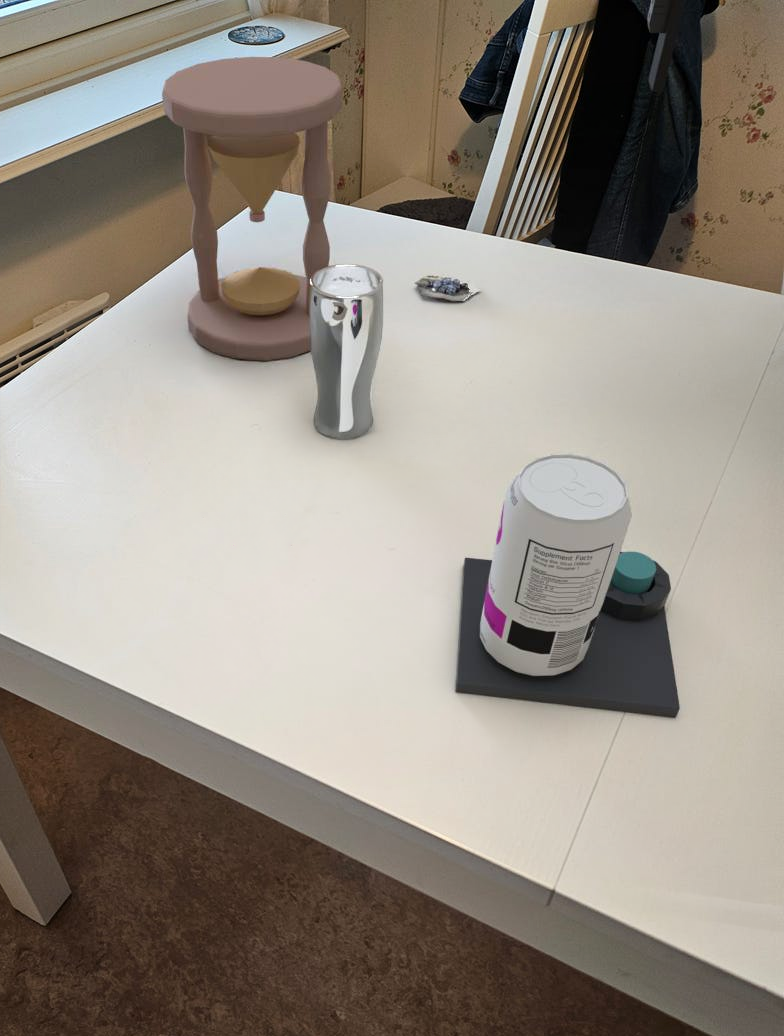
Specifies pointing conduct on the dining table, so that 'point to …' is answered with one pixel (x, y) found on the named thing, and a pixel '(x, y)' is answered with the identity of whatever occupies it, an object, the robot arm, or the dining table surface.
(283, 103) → the hourglass
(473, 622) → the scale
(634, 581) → the tare button
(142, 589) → the dining table surface
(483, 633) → the supplement can
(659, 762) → the dining table surface
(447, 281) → the blueberries
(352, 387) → the beer glass
